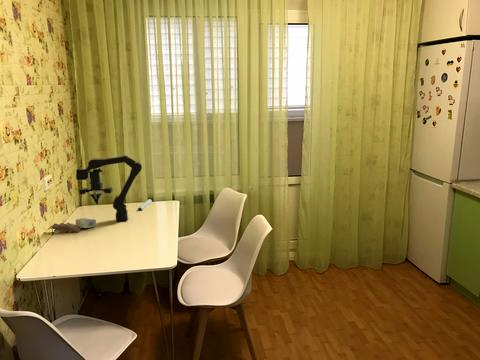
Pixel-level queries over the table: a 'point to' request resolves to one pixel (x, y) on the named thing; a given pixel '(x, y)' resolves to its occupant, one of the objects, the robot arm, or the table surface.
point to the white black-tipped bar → (145, 204)
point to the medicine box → (85, 223)
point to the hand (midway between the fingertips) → (97, 204)
